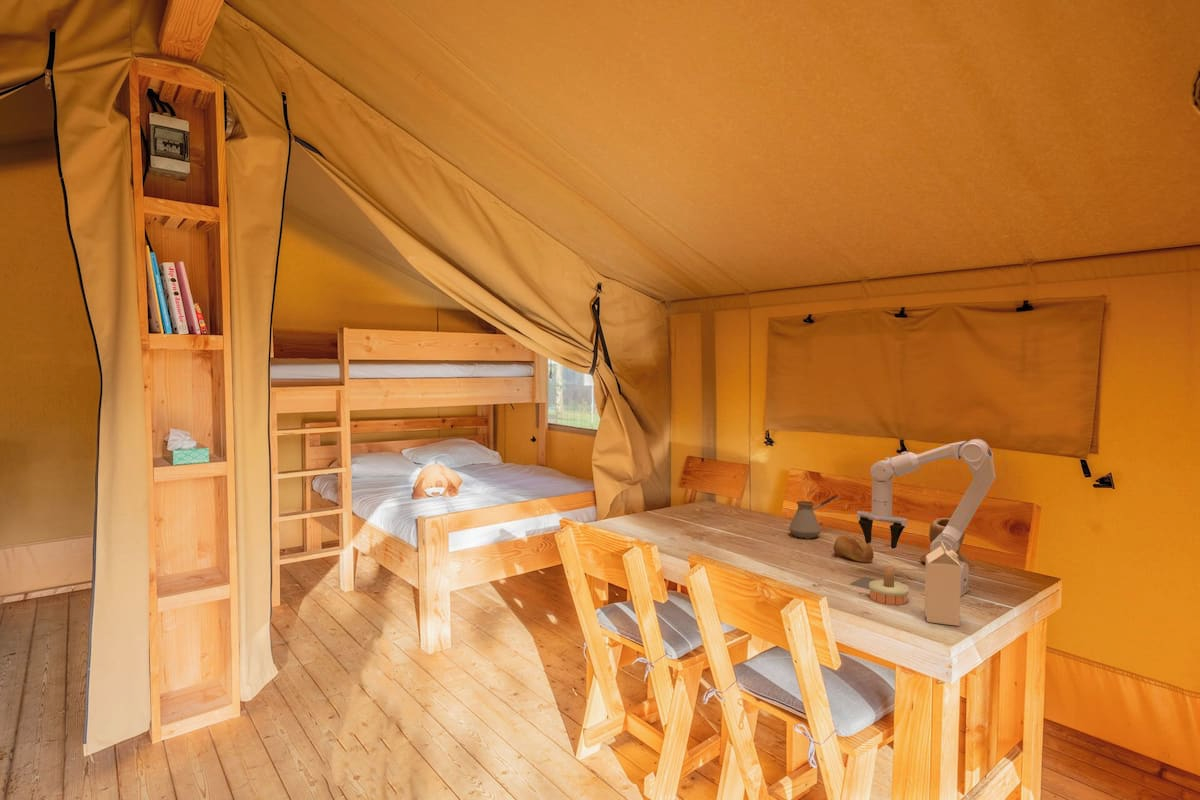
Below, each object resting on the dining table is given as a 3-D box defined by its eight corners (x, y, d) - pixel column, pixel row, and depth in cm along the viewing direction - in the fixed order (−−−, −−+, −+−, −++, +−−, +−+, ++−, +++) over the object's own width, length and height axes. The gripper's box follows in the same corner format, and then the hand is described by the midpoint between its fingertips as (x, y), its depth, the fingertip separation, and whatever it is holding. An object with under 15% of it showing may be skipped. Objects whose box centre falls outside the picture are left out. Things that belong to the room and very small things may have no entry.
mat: (898, 586, 191) (898, 584, 191) (883, 594, 184) (883, 592, 184) (864, 578, 198) (864, 576, 198) (849, 585, 191) (849, 584, 191)
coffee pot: (801, 541, 240) (802, 500, 240) (782, 534, 251) (783, 495, 250) (848, 536, 248) (849, 497, 247) (828, 529, 258) (829, 491, 258)
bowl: (912, 600, 179) (912, 589, 178) (898, 609, 172) (898, 597, 172) (878, 592, 185) (878, 581, 185) (863, 600, 179) (864, 589, 179)
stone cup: (944, 572, 204) (945, 524, 203) (914, 562, 215) (915, 516, 214) (980, 568, 209) (982, 521, 208) (949, 557, 220) (950, 513, 219)
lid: (913, 588, 179) (914, 567, 179) (902, 598, 172) (903, 575, 171) (875, 581, 186) (876, 560, 186) (863, 590, 178) (864, 568, 178)
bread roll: (858, 567, 210) (858, 542, 209) (825, 554, 223) (825, 531, 223) (881, 563, 213) (881, 539, 213) (847, 551, 227) (847, 529, 227)
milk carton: (927, 622, 163) (929, 547, 162) (924, 612, 170) (926, 540, 169) (959, 626, 161) (961, 550, 160) (955, 616, 167) (957, 542, 166)
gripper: (852, 498, 200) (851, 543, 200) (901, 506, 189) (899, 552, 190) (862, 495, 205) (862, 538, 205) (910, 502, 194) (909, 548, 195)
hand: (880, 545), depth 198 cm, fingers open, 7 cm apart
